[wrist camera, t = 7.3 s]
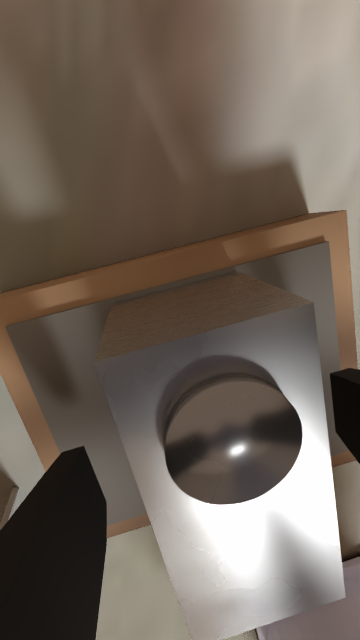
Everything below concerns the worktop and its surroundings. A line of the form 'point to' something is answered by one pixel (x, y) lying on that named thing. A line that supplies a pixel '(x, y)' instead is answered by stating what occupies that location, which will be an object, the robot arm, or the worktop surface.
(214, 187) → the worktop surface
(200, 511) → the housing
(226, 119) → the worktop surface
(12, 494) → the bracket
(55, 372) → the stand
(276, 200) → the worktop surface
